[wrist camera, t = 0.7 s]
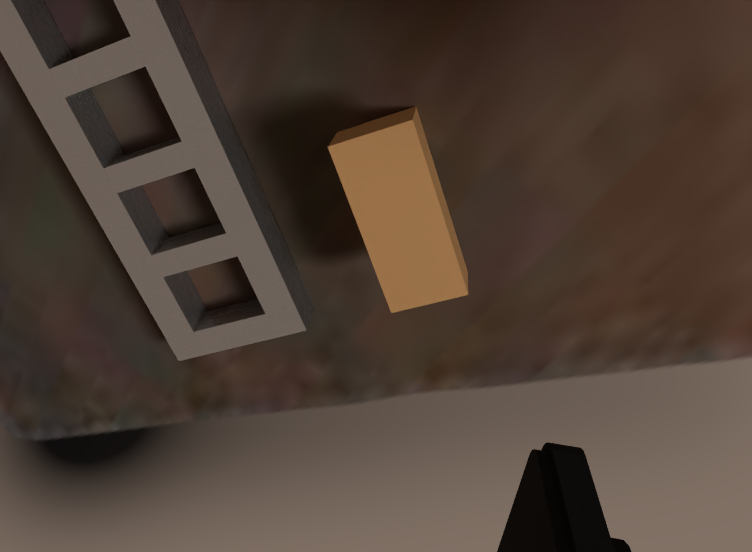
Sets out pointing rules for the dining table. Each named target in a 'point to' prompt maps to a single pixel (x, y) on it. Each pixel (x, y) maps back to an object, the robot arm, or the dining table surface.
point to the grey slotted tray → (161, 172)
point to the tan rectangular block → (401, 210)
